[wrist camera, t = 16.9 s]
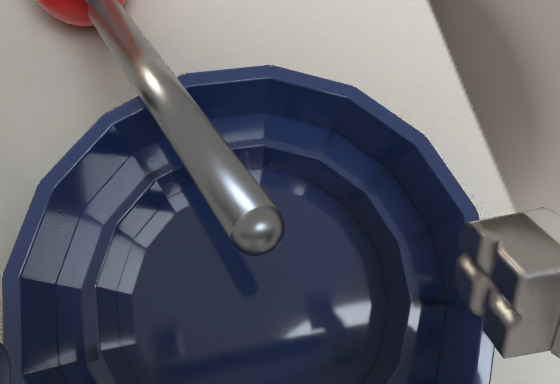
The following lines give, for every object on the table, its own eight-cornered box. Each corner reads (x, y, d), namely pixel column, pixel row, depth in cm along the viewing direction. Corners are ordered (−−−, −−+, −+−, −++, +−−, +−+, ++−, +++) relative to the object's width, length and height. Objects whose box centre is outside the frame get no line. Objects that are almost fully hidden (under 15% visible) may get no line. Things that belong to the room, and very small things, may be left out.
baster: (299, 121, 8) (59, -122, 20) (122, 287, 9) (-10, -49, 21) (380, 216, 12) (131, -42, 24) (249, 334, 12) (70, 20, 24)
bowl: (390, 534, 18) (460, 635, 12) (19, 441, 18) (-87, 498, 12) (448, 179, 22) (522, 129, 16) (139, 100, 22) (101, 20, 16)
